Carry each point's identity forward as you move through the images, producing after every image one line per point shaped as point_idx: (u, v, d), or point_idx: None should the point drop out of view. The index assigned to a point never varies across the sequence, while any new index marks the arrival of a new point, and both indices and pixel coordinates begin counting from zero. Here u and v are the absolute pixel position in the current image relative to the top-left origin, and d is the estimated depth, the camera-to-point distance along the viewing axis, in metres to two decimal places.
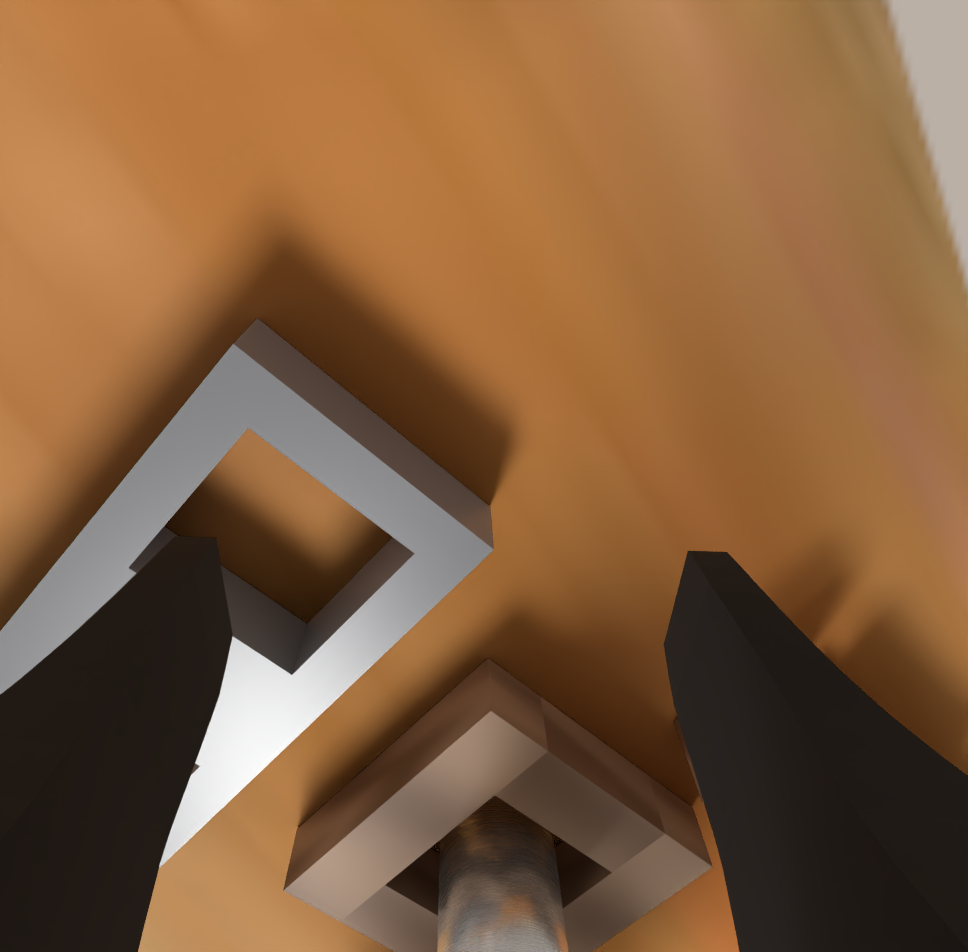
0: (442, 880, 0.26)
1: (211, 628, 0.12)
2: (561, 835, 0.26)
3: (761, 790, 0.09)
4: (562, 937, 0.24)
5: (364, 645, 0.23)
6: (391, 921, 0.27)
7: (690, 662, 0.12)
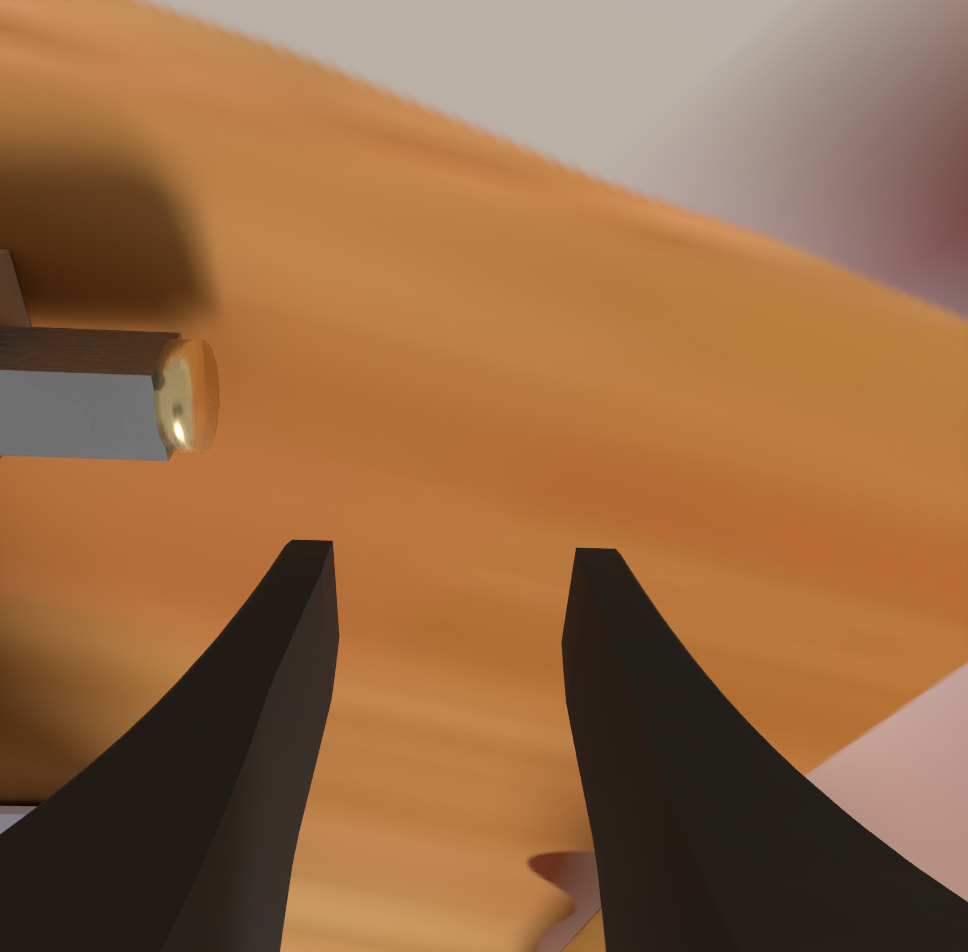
0: None
1: (328, 631, 0.12)
2: None
3: (620, 788, 0.09)
4: None
5: None
6: None
7: (576, 659, 0.12)
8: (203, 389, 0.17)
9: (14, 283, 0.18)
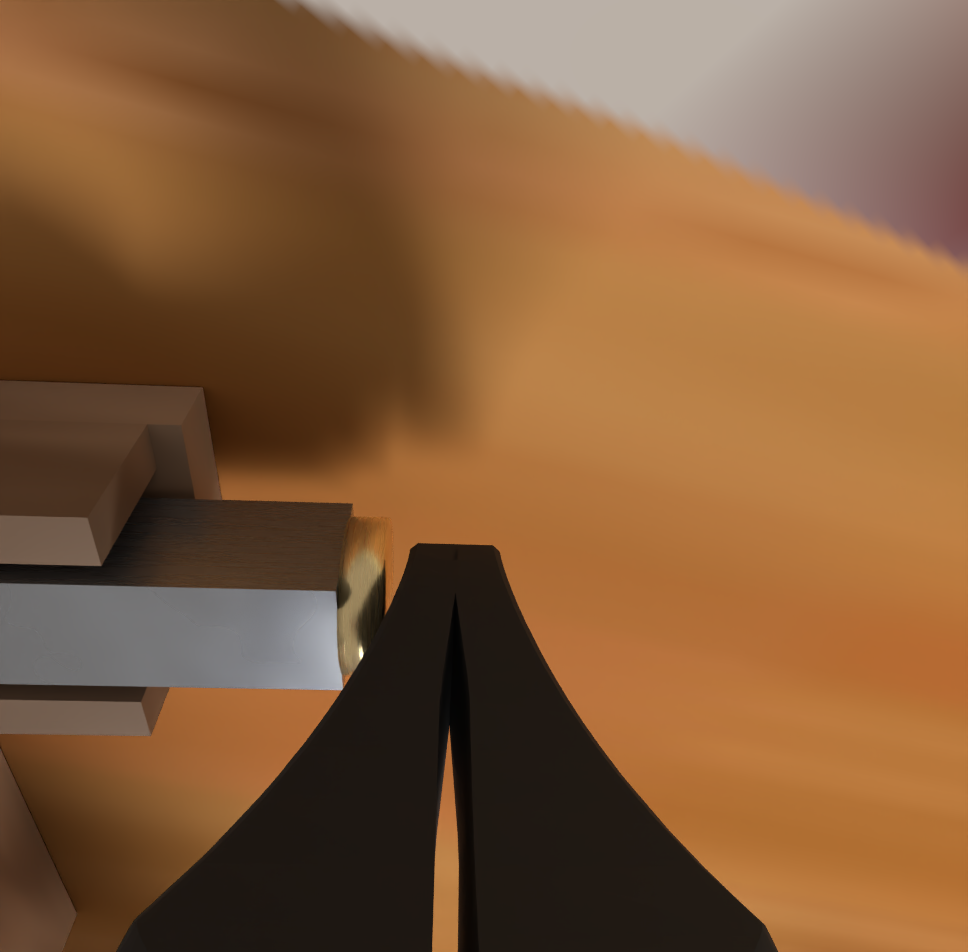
0: None
1: None
2: None
3: (464, 786, 0.09)
4: None
5: None
6: None
7: None
8: (387, 585, 0.12)
9: (207, 431, 0.13)
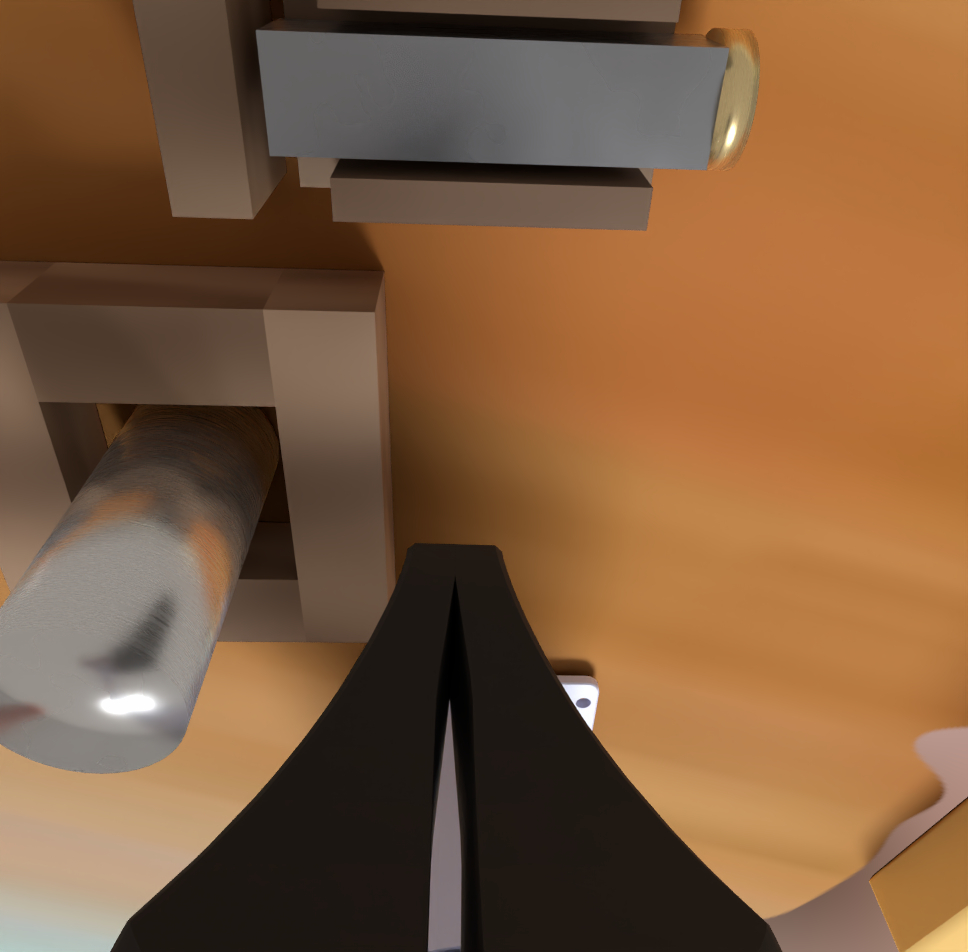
0: None
1: None
2: (164, 400, 0.18)
3: (466, 786, 0.09)
4: (157, 505, 0.17)
5: None
6: None
7: (452, 657, 0.12)
8: None
9: None
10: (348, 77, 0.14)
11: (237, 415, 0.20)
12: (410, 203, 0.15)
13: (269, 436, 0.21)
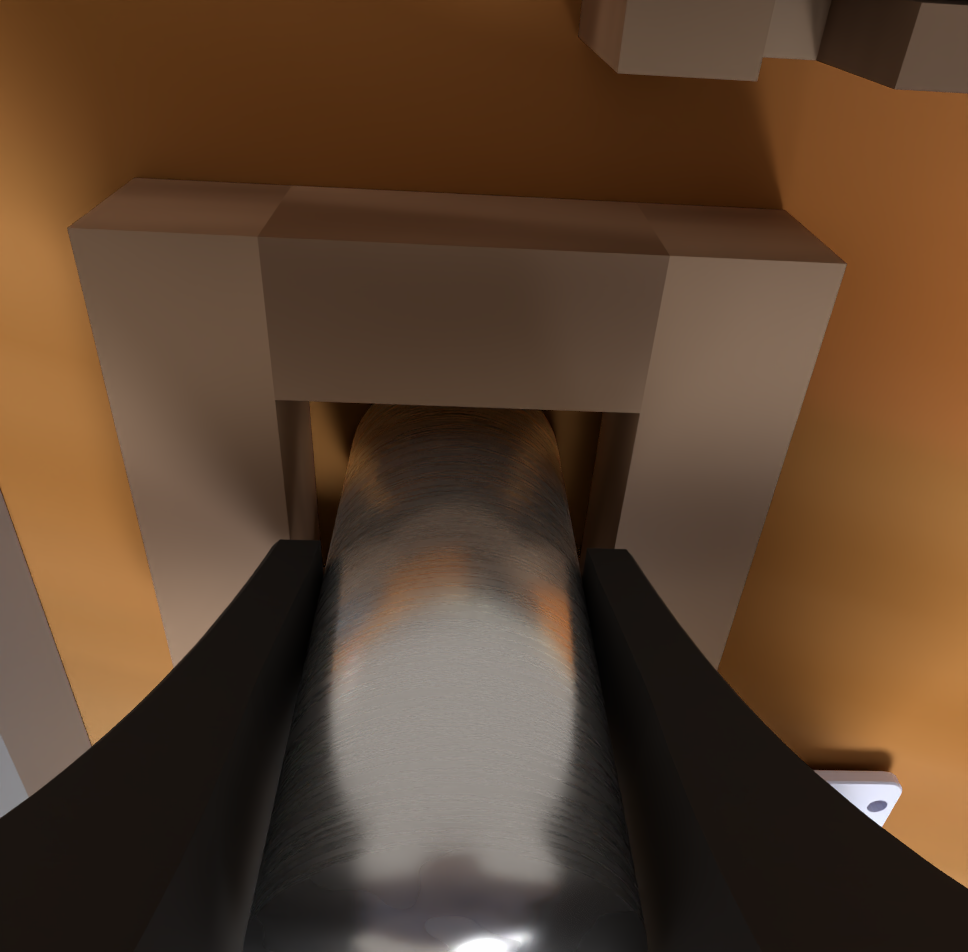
0: None
1: None
2: (471, 400, 0.12)
3: (633, 788, 0.09)
4: (511, 574, 0.10)
5: None
6: None
7: None
8: None
9: None
10: None
11: (532, 424, 0.14)
12: None
13: None
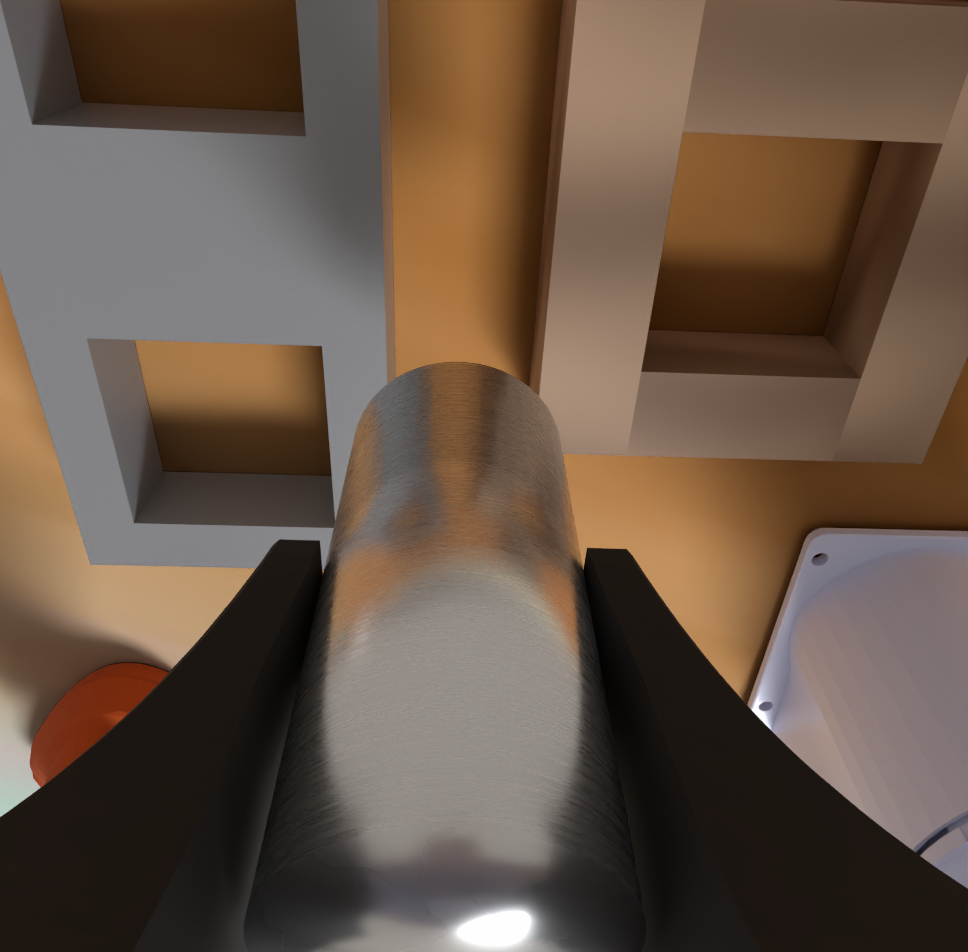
0: None
1: None
2: (823, 132, 0.16)
3: (633, 788, 0.09)
4: (516, 562, 0.10)
5: (344, 14, 0.15)
6: (686, 418, 0.20)
7: None
8: None
9: None
10: None
11: (536, 417, 0.14)
12: None
13: (561, 449, 0.15)
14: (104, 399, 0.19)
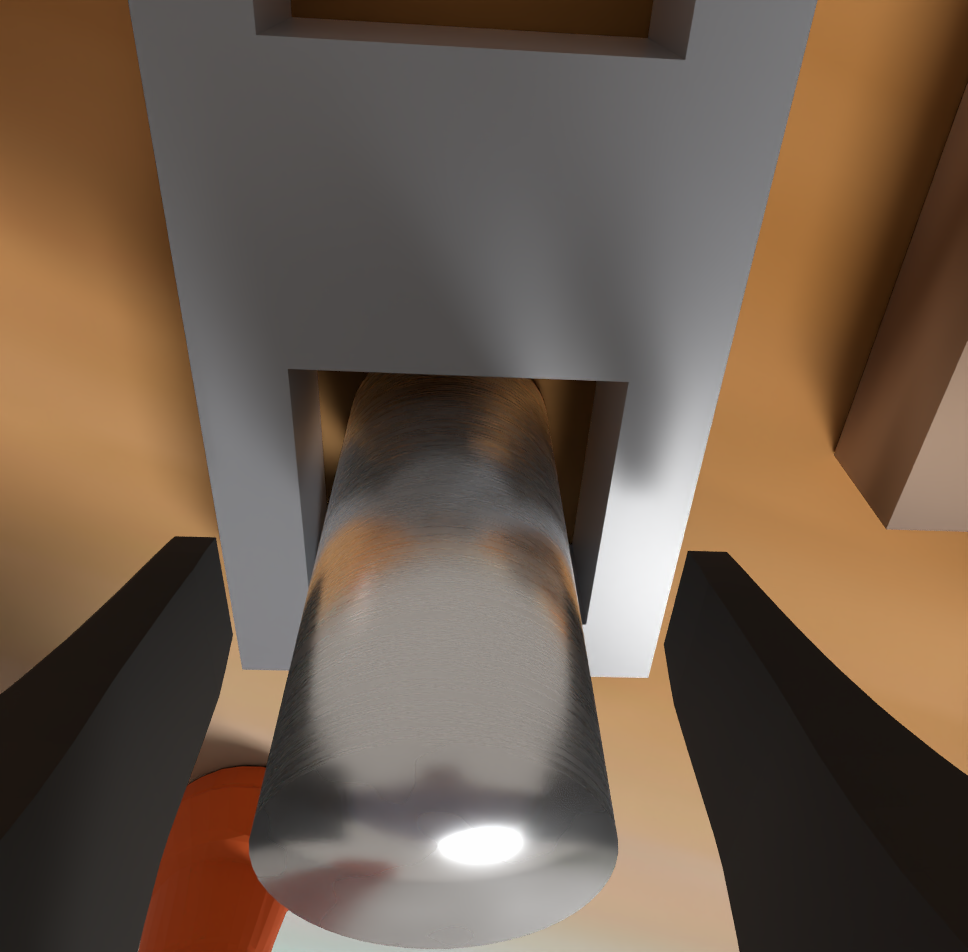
0: None
1: (211, 628, 0.12)
2: None
3: (761, 790, 0.09)
4: (503, 520, 0.11)
5: None
6: None
7: (690, 662, 0.12)
8: None
9: None
10: None
11: (524, 392, 0.15)
12: None
13: (548, 423, 0.15)
14: (297, 455, 0.13)
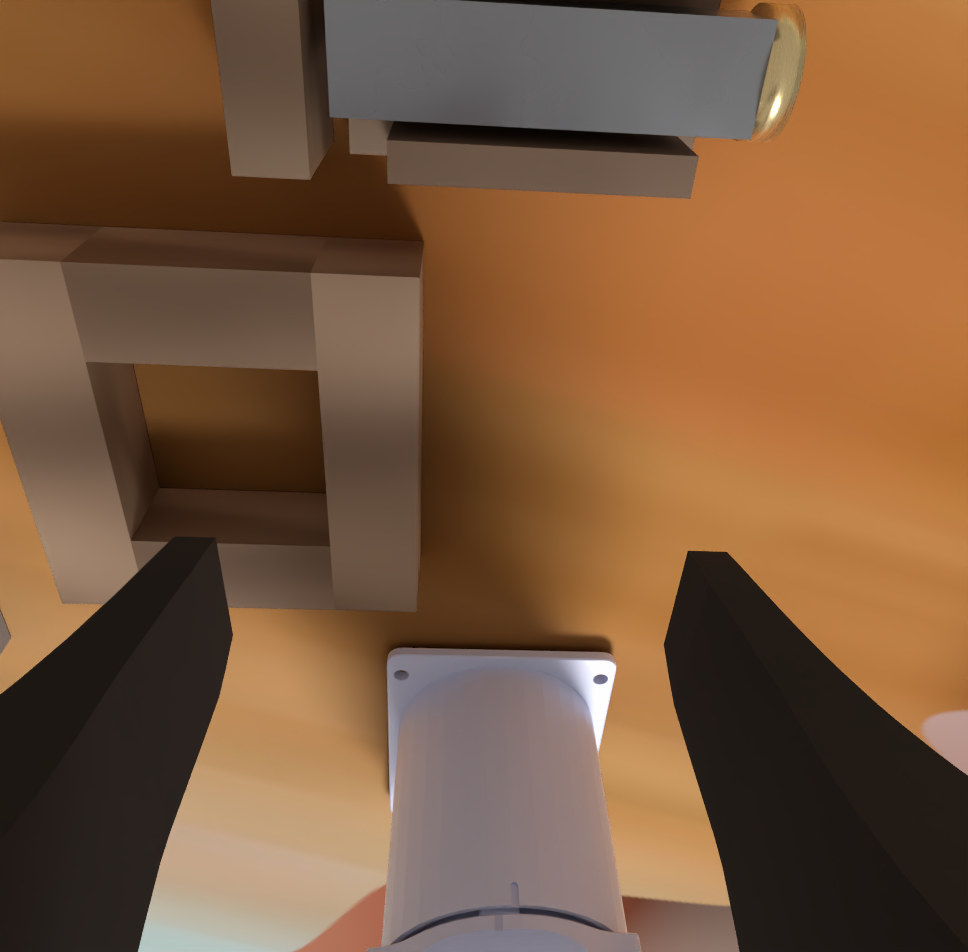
0: None
1: (211, 628, 0.12)
2: (209, 362, 0.19)
3: (761, 790, 0.09)
4: None
5: None
6: None
7: (690, 662, 0.12)
8: None
9: None
10: (410, 40, 0.14)
11: None
12: (463, 167, 0.15)
13: None
14: None
